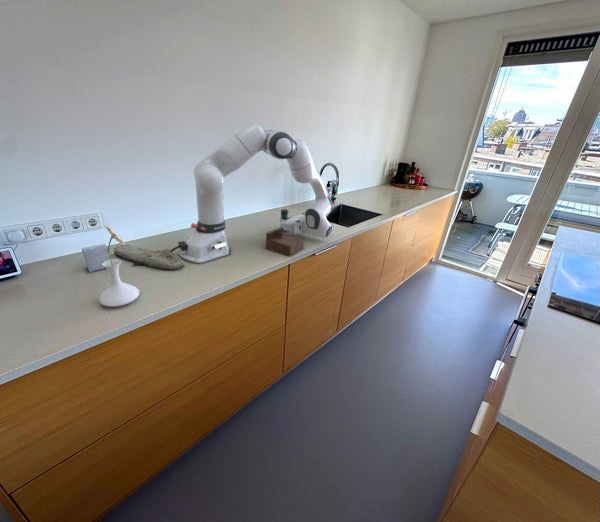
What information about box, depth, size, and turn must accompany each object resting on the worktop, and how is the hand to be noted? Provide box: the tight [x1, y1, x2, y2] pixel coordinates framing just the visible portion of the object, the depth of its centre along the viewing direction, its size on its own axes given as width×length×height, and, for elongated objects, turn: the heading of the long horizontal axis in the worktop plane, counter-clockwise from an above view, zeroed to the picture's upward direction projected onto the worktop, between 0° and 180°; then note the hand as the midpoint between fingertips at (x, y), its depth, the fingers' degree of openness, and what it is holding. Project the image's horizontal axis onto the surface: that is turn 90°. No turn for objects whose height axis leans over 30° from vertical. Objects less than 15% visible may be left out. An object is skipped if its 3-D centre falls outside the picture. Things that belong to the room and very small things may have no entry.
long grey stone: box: [113, 244, 184, 270], centre depth 120 cm, size 35×5×10 cm
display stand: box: [265, 226, 304, 257], centre depth 140 cm, size 12×14×8 cm
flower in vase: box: [98, 224, 140, 308], centre depth 90 cm, size 13×11×25 cm
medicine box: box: [81, 243, 110, 273], centre depth 111 cm, size 8×4×9 cm, turn 135°
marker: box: [280, 208, 289, 233], centre depth 163 cm, size 4×4×12 cm
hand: (282, 219), depth 163 cm, fingers closed on marker, 4 cm apart
